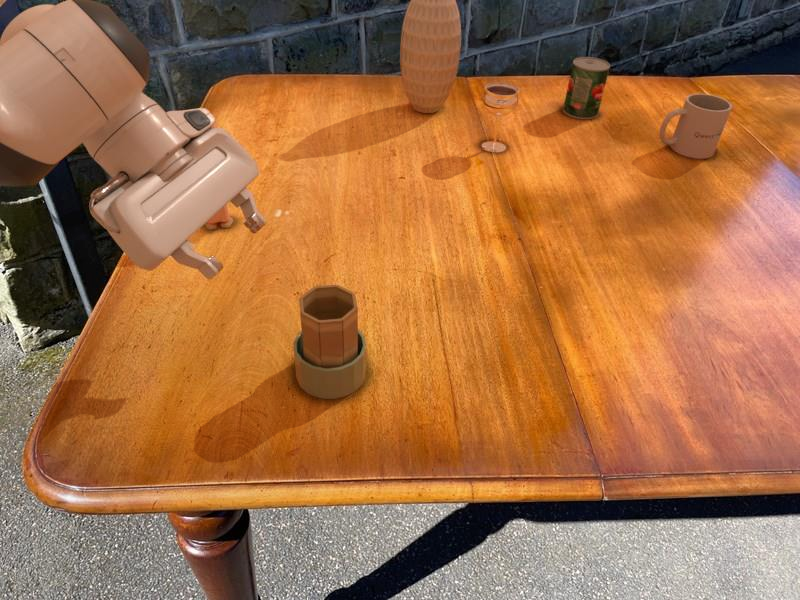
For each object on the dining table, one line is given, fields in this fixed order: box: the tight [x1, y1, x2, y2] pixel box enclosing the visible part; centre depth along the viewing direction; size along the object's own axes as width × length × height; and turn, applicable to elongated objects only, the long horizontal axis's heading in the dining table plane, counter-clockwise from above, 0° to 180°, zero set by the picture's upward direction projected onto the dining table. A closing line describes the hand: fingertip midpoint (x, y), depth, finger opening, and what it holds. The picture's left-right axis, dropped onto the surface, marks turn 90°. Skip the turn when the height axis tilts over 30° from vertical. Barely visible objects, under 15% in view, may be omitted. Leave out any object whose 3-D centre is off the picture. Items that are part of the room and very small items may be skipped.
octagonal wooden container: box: [298, 284, 359, 368], centre depth 75 cm, size 6×6×11 cm
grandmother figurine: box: [204, 204, 234, 231], centre depth 99 cm, size 8×4×13 cm, turn 115°
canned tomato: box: [562, 56, 611, 120], centre depth 140 cm, size 8×8×11 cm
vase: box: [399, 0, 462, 114], centre depth 133 cm, size 13×13×28 cm
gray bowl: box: [292, 328, 367, 400], centre depth 77 cm, size 9×9×5 cm
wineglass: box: [481, 81, 521, 153], centre depth 125 cm, size 7×7×12 cm
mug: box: [659, 93, 733, 160], centre depth 128 cm, size 12×9×10 cm
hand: (239, 250), depth 71 cm, fingers open, 8 cm apart
